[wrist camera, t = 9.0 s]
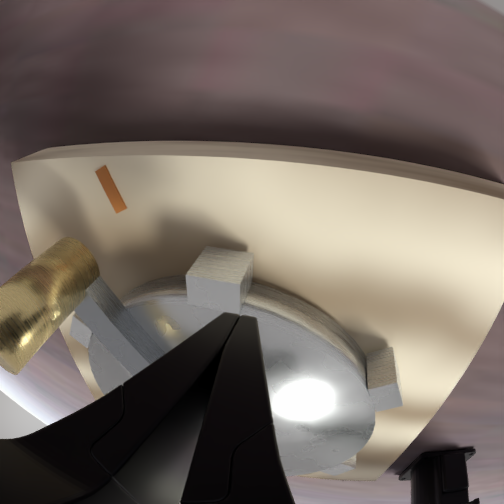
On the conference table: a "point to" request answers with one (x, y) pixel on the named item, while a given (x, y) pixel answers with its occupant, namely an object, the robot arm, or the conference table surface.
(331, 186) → the base plate
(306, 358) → the silver lever dial
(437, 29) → the conference table surface
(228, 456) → the robot arm
